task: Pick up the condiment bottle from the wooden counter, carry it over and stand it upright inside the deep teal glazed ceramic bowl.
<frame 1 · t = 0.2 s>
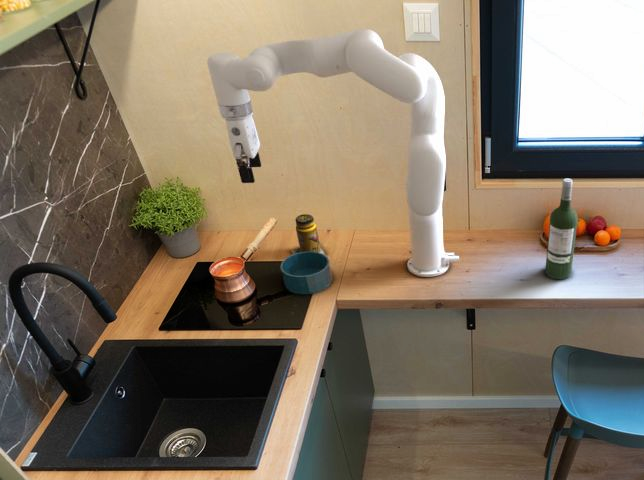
hand: (252, 174, 158), 31 cm above the worktop, tool pointing down, fingers open, 9 cm apart
bowl: (308, 281, 174), on the worktop
condiment: (308, 253, 186), on the worktop
wine bottle: (558, 273, 182), on the worktop
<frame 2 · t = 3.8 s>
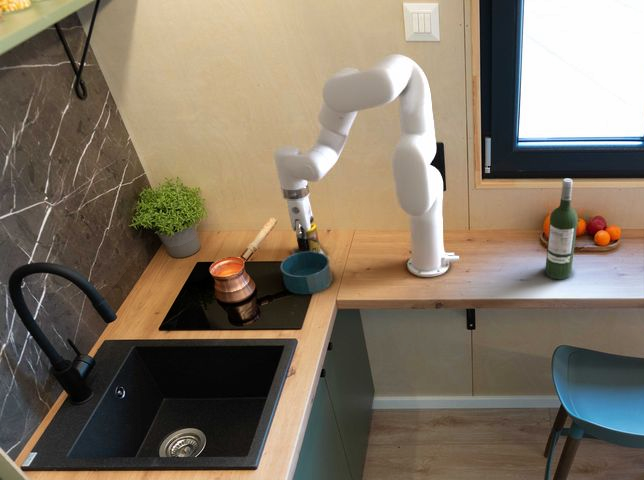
hand: (306, 243, 184), 3 cm above the worktop, tool pointing down, fingers closed on condiment, 6 cm apart
condiment: (308, 253, 186), on the worktop, touching gripper
everything else where it was.
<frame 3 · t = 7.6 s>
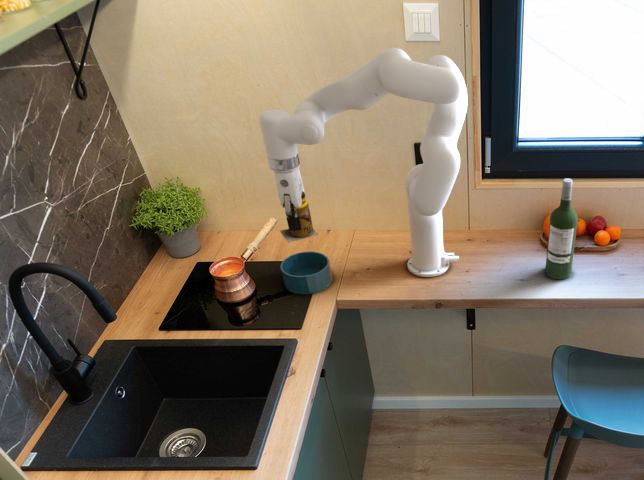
hand: (297, 223, 164), 18 cm above the worktop, tool pointing down, fingers closed on condiment, 6 cm apart
condiment: (299, 234, 166), point 15 cm above the worktop, touching gripper
everything else where it was.
when the fingers open (4 cm above the worktop, at t = 11.4 s): condiment stays where it is, resting on bowl.
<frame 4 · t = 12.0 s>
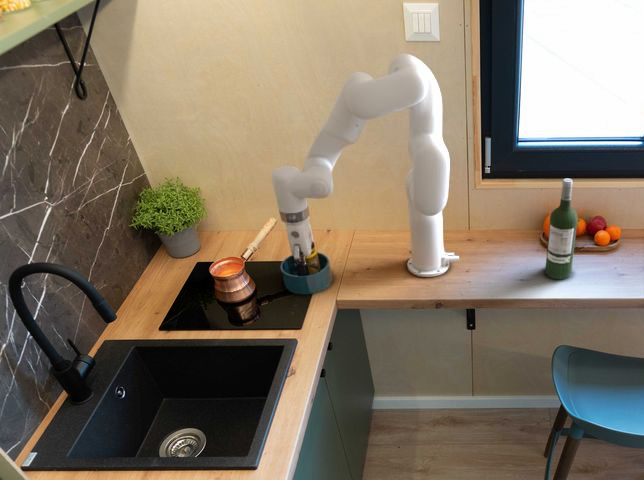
hand: (306, 266, 171), 5 cm above the worktop, tool pointing down, fingers open, 9 cm apart
condiment: (308, 280, 174), resting on bowl
everything else where it was.
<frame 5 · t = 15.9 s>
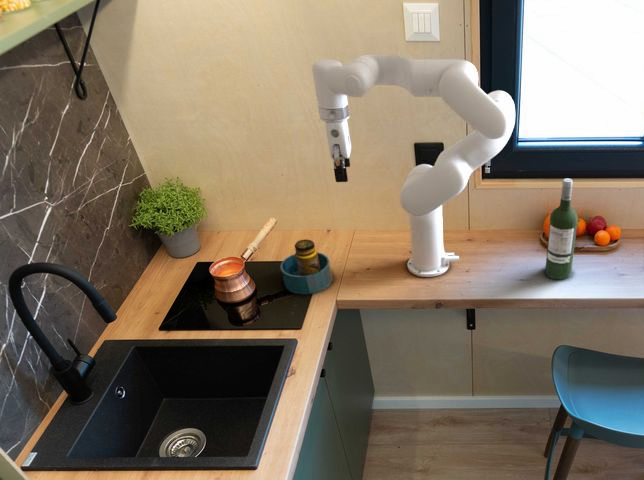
hand: (343, 174, 166), 28 cm above the worktop, tool pointing down, fingers open, 9 cm apart
nothing on the worktop moved.
at the end: condiment 0.2 cm off-centre in the bowl, point 0.4 cm above the bowl's base; condiment tilted 0°; the gripper is holding nothing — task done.
